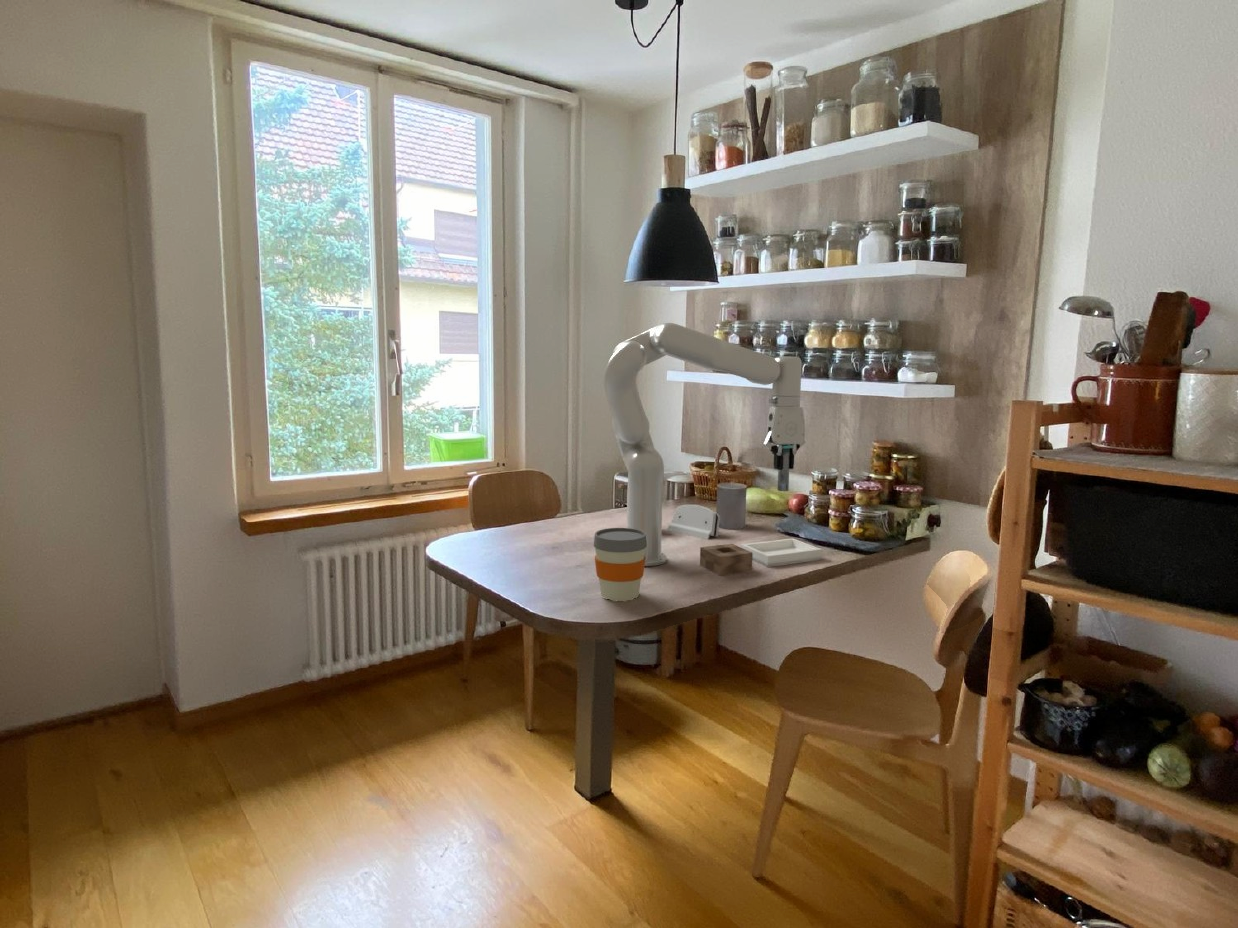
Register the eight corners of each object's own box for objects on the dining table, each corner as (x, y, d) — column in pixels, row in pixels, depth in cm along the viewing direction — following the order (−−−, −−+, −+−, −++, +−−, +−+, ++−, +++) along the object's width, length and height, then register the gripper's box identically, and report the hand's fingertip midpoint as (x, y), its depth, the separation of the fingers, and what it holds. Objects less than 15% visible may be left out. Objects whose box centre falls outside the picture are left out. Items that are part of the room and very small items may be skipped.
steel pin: (781, 492, 204) (782, 445, 202) (771, 489, 208) (772, 443, 206) (794, 491, 206) (796, 445, 204) (784, 488, 210) (786, 443, 208)
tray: (767, 566, 201) (767, 556, 201) (740, 554, 213) (741, 544, 212) (821, 559, 208) (821, 549, 208) (792, 548, 220) (793, 538, 220)
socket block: (719, 575, 193) (719, 556, 193) (699, 565, 202) (700, 547, 202) (751, 571, 197) (752, 552, 197) (731, 561, 206) (731, 543, 206)
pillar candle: (712, 522, 251) (714, 478, 249) (741, 522, 252) (742, 478, 250) (719, 530, 242) (720, 484, 239) (749, 529, 243) (750, 484, 240)
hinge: (666, 530, 241) (673, 500, 242) (675, 532, 244) (682, 502, 245) (708, 539, 229) (715, 507, 230) (717, 541, 233) (724, 510, 234)
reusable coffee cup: (617, 583, 186) (617, 524, 184) (656, 594, 178) (657, 533, 176) (582, 595, 177) (582, 534, 175) (622, 608, 169) (623, 543, 167)
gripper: (768, 404, 197) (766, 472, 200) (819, 402, 203) (816, 468, 206) (752, 402, 204) (751, 468, 207) (801, 400, 210) (799, 464, 213)
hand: (783, 468), depth 206 cm, fingers closed on steel pin, 3 cm apart
